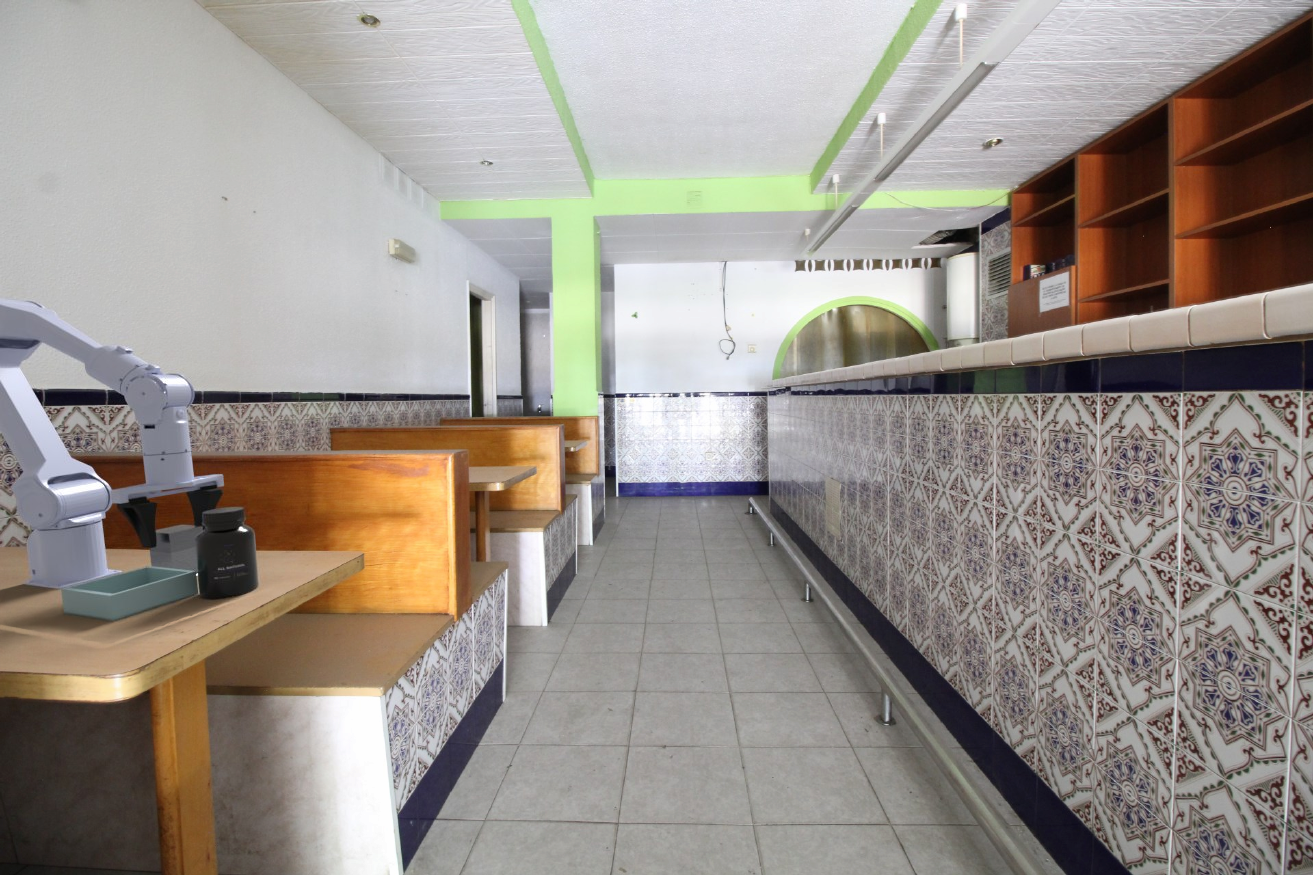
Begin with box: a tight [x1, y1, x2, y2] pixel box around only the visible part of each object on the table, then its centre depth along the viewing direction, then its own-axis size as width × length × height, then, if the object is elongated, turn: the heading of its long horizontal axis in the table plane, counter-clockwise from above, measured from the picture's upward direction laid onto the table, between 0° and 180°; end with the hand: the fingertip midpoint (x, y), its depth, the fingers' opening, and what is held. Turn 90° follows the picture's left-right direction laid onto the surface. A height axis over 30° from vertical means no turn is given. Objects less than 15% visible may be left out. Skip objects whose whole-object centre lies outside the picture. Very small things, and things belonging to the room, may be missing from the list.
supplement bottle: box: [195, 506, 259, 601], centre depth 83 cm, size 7×7×12 cm
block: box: [149, 524, 203, 574], centre depth 92 cm, size 5×5×7 cm
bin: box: [60, 565, 199, 622], centre depth 80 cm, size 10×10×4 cm
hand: (177, 540), depth 92 cm, fingers open, 7 cm apart
